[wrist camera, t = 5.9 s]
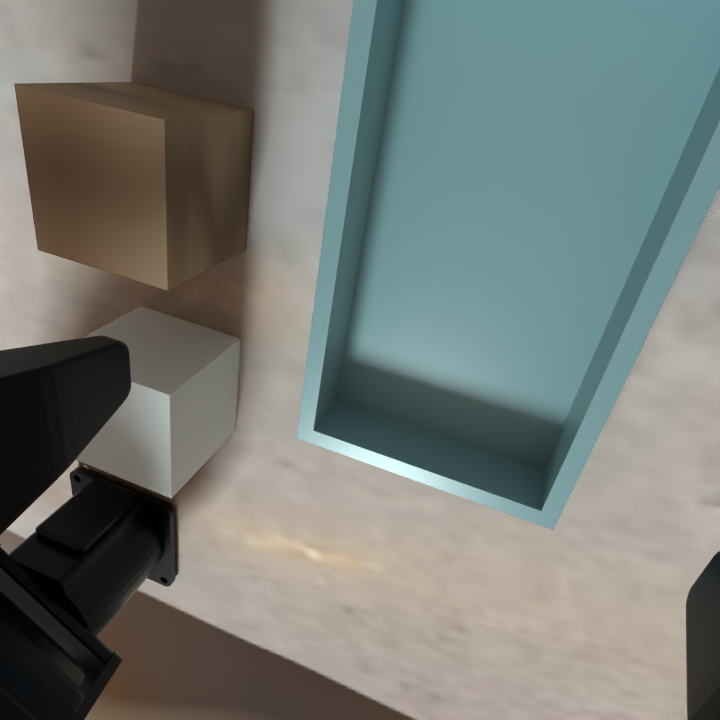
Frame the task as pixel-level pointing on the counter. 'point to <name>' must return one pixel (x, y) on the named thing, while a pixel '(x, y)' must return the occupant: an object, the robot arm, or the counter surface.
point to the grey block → (168, 401)
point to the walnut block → (136, 177)
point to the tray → (504, 232)
